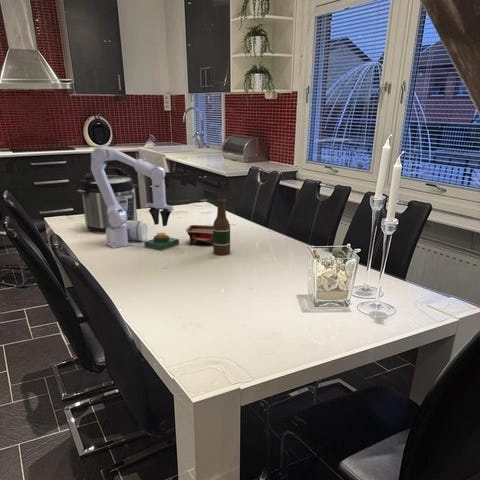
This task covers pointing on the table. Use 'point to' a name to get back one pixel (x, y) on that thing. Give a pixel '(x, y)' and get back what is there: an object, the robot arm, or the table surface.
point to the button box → (161, 243)
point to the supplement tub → (136, 230)
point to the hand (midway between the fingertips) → (160, 225)
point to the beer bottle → (221, 230)
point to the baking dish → (200, 233)
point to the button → (161, 235)
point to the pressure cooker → (96, 205)
